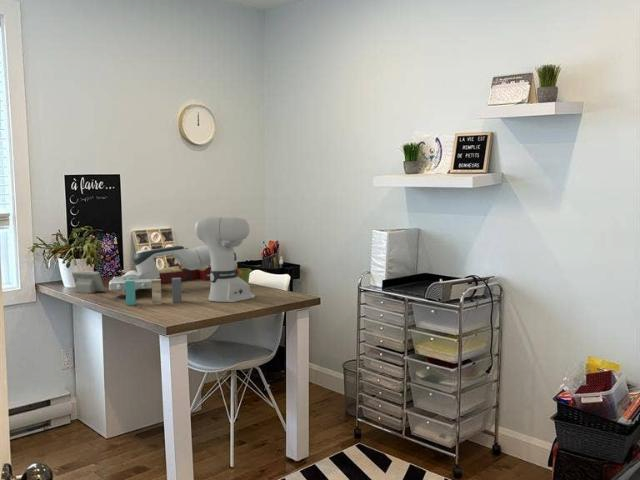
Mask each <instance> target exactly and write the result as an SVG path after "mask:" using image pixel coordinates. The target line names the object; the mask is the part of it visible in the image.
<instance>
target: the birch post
mask: <svg viewBox="0 0 640 480" xmlns="http://www.w3.org/2000/svg"><path fill="white" fill-rule="evenodd" d="M151 295H152V296H151V297H152V299H151V301H152V302H151V303H152V306H154V305H162V284H161V279H152V288H151Z"/></svg>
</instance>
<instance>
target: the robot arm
mask: <svg viewBox="0 0 640 480" xmlns="http://www.w3.org/2000/svg"><path fill="white" fill-rule="evenodd" d="M250 228H251V227H250V224H249V222H248V220H246V218H241V217H236V216H235V217H233V216H231V217H229V216H227V217H223V216H220V217H219V216H214V217H213V216H210V217H202V218H199V219H198V220H197V221H196V222H195V224H194V233H195V235H196V237H197V238H198V239H199V240H201V241H202V242H203V244H204V245H199V246H195V247H194V248H188V249H186V248H187V247H184V246H182V245H175V246H173V245H172V246H167V247H166V246H165V247H160V248H154V249H141V250H138V251H136V252H134V254H133V256H132V262H133V264H134V266H135V270H128V271H126V273H124V274H123V275H118V276H113V277H112V279H110V280H109V282H108V289H109V291H124V292H126V287H125V281H126V280H135V292H136V291H138V290H142V289H152V279H160V275H159V272H158V269H157V268H158V267H157V263H156V264H155V261H154V258H155V257H156V258H158V257H164V256H165V257H166V256H173V257H174V258H176V259H177V260H178V261H179V262H180V263H181V265H182V266H183V267H185V268H186V269H188V270H195V269H199V268H202V267H204V266H207V265H209V264H210V265H211V270H210V291H209V294H208V295H209V296H208V298H207V299H208V301H209V302H210V301H211V302H217V303H218V302H222V303H225V302H226V303H227V302H228V303H234V302H240V301H245V300H249V299H255V298H256V294H254V293H252V292H251V287H250V284H249V283H246V282H245V281H243V280H242V279H241V278H239V277H238V274H241V272H242V271H241V270H236V269H237V268H235V267H236V266H235V264H236V263H235V262H236V261H237V259H238V258H237V253H236V252H235V248H237V247H240V246H241V245H242V244H243V242H244V240H246V238H248V237H249V235H250ZM136 269H137V271H138V272H137V271H136Z"/></svg>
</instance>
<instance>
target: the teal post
mask: <svg viewBox="0 0 640 480" xmlns="http://www.w3.org/2000/svg"><path fill="white" fill-rule="evenodd" d="M125 287H126V291H125V306H135V305H136V291H135V280H126V281H125Z"/></svg>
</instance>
